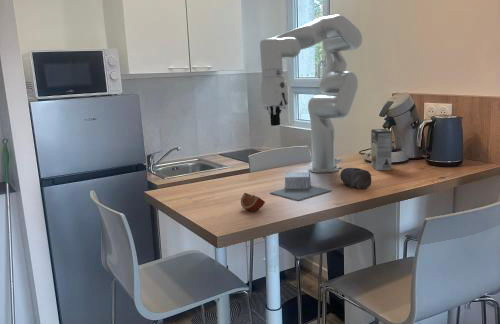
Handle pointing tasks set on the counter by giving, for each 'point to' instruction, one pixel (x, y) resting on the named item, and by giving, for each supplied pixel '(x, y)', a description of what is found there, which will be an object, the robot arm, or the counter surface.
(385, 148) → the coffee box
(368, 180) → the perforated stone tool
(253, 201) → the fruit slice
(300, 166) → the counter surface
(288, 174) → the medicine box
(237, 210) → the counter surface
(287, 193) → the mat
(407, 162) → the counter surface
